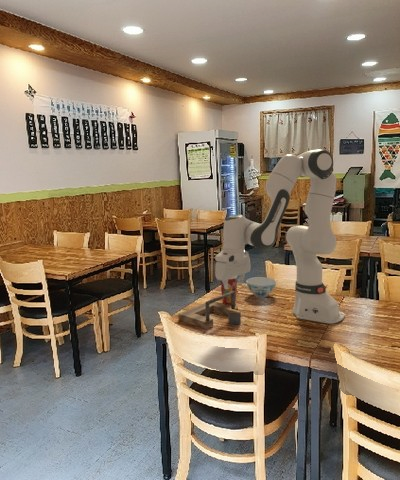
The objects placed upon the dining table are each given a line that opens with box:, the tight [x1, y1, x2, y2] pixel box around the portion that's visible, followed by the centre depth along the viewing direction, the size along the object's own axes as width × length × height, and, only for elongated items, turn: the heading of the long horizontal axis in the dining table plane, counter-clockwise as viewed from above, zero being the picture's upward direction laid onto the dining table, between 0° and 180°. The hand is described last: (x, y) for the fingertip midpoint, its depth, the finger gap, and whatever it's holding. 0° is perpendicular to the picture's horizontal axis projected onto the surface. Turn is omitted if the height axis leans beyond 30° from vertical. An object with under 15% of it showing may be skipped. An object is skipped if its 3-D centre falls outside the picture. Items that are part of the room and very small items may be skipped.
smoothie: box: [220, 276, 238, 306], centre depth 197 cm, size 8×8×20 cm
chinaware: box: [245, 276, 277, 299], centre depth 208 cm, size 15×15×8 cm
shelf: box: [178, 291, 239, 330], centre depth 180 cm, size 16×22×11 cm
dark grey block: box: [228, 309, 242, 326], centre depth 174 cm, size 5×5×6 cm
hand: (233, 286), depth 171 cm, fingers open, 8 cm apart
